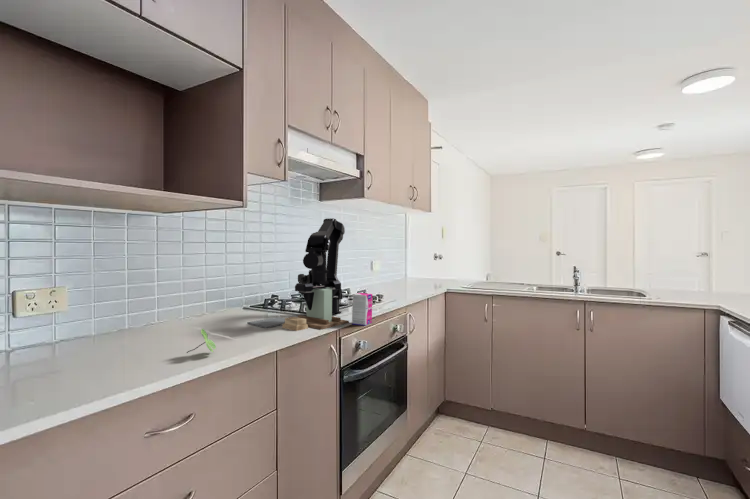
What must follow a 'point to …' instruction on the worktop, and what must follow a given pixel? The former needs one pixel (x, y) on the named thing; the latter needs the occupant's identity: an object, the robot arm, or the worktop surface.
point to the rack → (323, 322)
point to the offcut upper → (295, 321)
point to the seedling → (206, 341)
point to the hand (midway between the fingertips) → (318, 308)
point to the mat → (268, 322)
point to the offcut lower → (295, 327)
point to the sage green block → (321, 304)
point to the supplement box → (362, 309)
